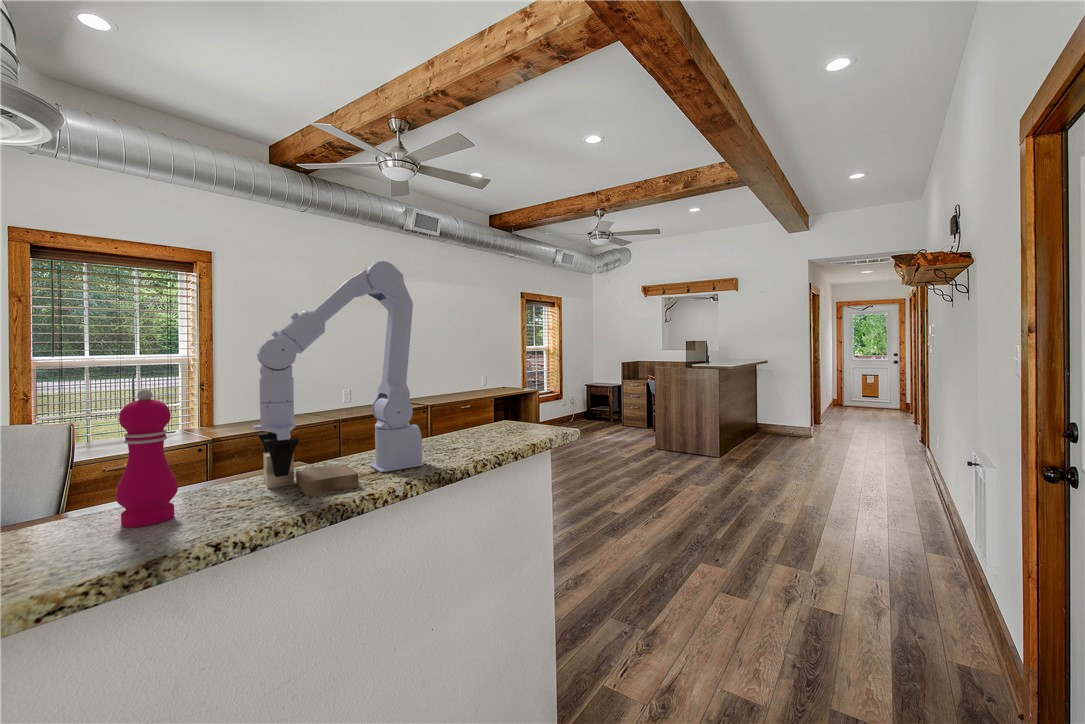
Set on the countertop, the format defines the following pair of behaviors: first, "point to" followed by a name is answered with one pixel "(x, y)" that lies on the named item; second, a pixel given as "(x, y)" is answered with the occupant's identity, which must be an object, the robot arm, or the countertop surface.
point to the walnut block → (326, 479)
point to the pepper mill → (146, 464)
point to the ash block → (269, 474)
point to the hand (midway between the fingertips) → (278, 471)
